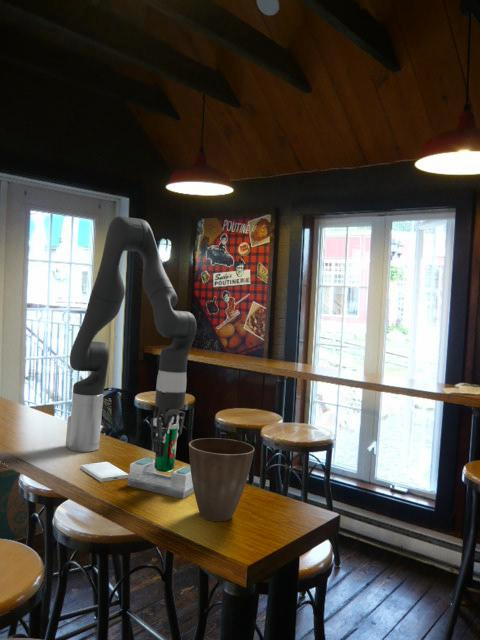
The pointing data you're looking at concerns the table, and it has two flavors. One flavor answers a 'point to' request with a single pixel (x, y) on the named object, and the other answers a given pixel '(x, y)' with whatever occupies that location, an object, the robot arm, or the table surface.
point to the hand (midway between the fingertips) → (165, 454)
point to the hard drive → (104, 471)
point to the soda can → (168, 451)
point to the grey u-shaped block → (160, 479)
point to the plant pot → (219, 475)
